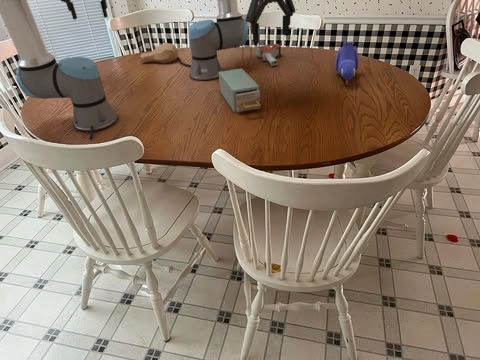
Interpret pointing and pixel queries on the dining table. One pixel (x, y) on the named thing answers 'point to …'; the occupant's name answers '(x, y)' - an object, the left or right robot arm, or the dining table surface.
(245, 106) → the drawer
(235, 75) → the cabinet
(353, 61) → the toy
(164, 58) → the squash
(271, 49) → the tape dispenser
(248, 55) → the dining table surface
